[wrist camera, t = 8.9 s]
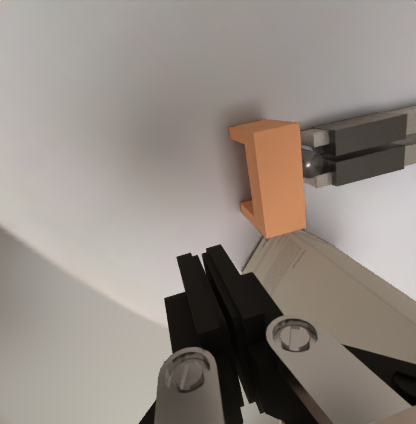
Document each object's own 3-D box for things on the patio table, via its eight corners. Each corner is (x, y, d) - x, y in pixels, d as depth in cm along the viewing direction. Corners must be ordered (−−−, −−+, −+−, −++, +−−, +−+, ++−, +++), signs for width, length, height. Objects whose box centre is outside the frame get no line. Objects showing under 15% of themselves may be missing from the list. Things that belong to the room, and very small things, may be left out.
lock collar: (241, 212, 25) (266, 238, 20) (228, 127, 22) (253, 132, 18) (274, 204, 26) (306, 227, 21) (264, 119, 23) (299, 122, 18)
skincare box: (239, 271, 27) (348, 452, 13) (276, 211, 26) (442, 338, 12) (305, 298, 30) (454, 471, 16) (341, 245, 29) (539, 381, 15)
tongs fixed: (280, 172, 25) (300, 181, 22) (277, 135, 24) (297, 139, 21) (468, 126, 27) (509, 128, 24) (474, 90, 26) (516, 88, 23)
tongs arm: (301, 181, 25) (321, 190, 23) (300, 159, 25) (320, 166, 22) (469, 138, 28) (506, 141, 25) (472, 117, 27) (510, 118, 24)
